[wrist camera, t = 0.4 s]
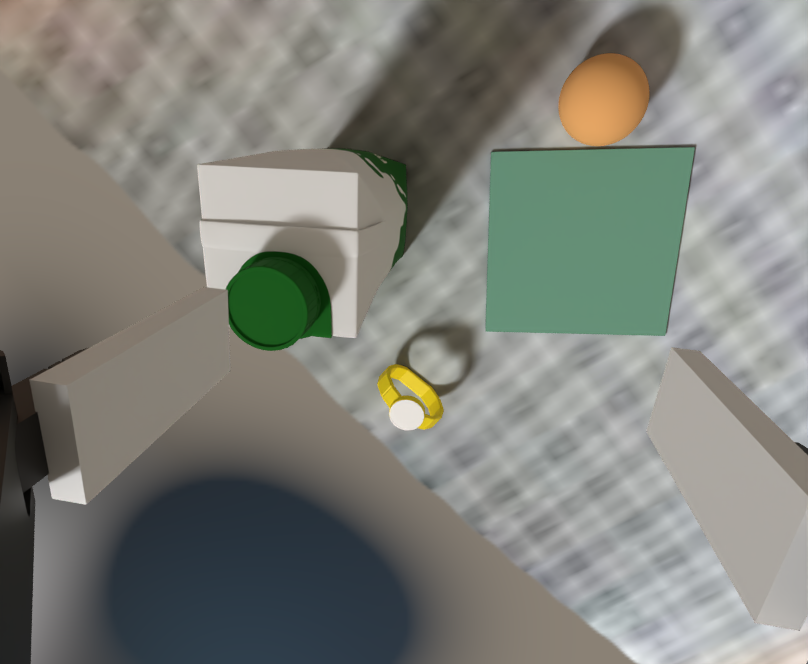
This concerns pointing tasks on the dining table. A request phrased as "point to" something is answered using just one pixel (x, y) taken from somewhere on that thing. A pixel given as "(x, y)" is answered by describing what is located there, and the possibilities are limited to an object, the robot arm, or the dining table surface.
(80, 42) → the dining table surface
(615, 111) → the ball orange
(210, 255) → the milk carton
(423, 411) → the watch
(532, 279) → the green mark
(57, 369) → the robot arm
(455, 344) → the dining table surface
